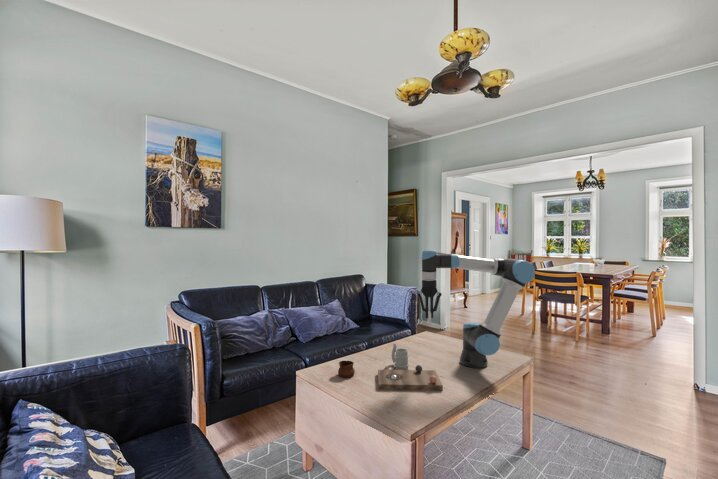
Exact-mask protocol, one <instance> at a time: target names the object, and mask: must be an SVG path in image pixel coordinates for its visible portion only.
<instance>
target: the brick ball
mask: <svg viewBox="0 0 718 479" xmlns="http://www.w3.org/2000/svg"><path fill="white" fill-rule="evenodd" d="M429 380H430V382H431V383H436V381H437V378H436V376H434V375H432V376H430V378H429Z"/></svg>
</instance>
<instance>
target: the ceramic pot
mask: <svg viewBox="0 0 718 479" xmlns="http://www.w3.org/2000/svg"><path fill="white" fill-rule="evenodd" d="M354 363H355V362H354V361H352V360H341V361H339V363H338V365H339V368H338V369H337V374H338V376H339V377H340V378H342V379H350V378H354V375H355V373H356V371H355V368H354Z"/></svg>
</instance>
